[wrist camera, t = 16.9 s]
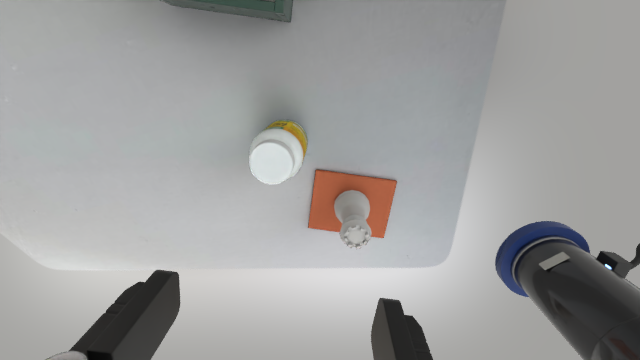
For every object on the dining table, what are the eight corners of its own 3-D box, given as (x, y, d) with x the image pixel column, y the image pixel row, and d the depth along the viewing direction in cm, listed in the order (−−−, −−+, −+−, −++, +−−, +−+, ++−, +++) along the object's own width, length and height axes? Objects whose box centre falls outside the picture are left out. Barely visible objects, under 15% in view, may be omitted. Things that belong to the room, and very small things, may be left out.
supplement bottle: (280, 170, 37) (262, 202, 28) (255, 133, 35) (228, 154, 26) (317, 148, 36) (311, 174, 27) (292, 109, 34) (278, 123, 25)
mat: (396, 180, 37) (397, 181, 36) (383, 236, 39) (383, 238, 39) (316, 169, 37) (315, 170, 36) (308, 226, 39) (308, 227, 39)
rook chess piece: (376, 204, 37) (387, 237, 30) (351, 227, 39) (356, 264, 31) (351, 181, 36) (356, 210, 29) (326, 205, 38) (325, 238, 30)
